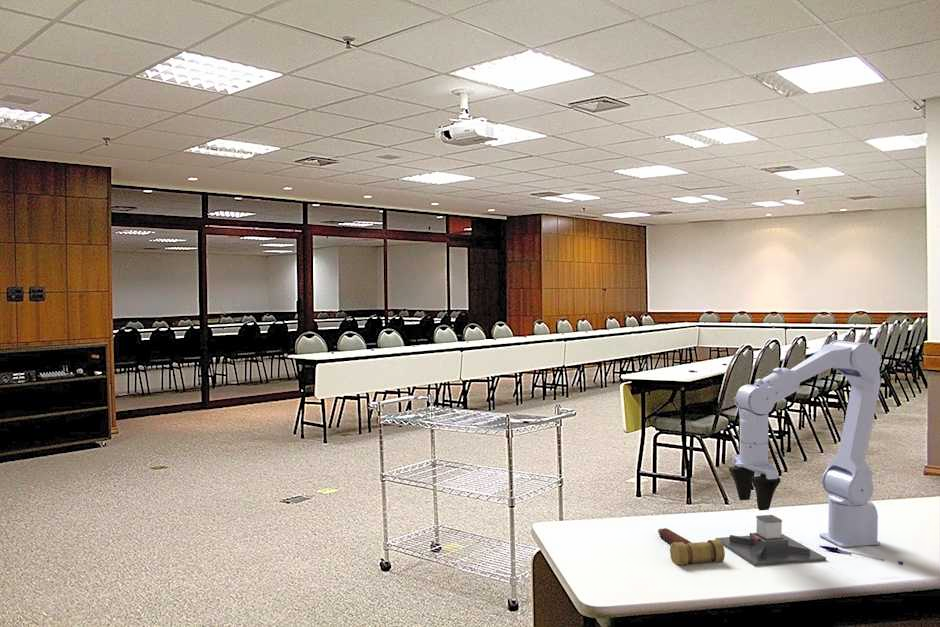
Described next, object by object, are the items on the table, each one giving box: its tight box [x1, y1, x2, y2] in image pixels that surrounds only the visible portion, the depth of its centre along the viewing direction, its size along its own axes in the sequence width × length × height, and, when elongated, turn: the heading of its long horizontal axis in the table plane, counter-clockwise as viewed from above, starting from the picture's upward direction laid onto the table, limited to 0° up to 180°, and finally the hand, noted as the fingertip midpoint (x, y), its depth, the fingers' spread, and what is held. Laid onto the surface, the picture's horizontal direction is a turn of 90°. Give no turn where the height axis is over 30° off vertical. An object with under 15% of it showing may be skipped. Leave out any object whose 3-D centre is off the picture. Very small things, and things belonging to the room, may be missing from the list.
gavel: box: [657, 527, 726, 566], centre depth 169 cm, size 21×5×10 cm
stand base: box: [715, 532, 827, 567], centre depth 167 cm, size 16×16×3 cm
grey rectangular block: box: [756, 514, 783, 540], centre depth 167 cm, size 4×4×6 cm
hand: (753, 504), depth 168 cm, fingers open, 7 cm apart
